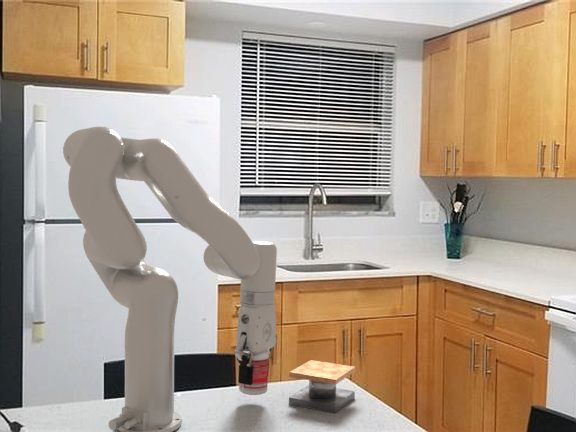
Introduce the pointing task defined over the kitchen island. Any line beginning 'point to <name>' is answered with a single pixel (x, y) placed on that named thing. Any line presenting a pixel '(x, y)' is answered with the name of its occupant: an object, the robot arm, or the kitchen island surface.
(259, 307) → the robot arm
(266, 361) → the pill bottle
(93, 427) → the kitchen island surface
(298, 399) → the stand
